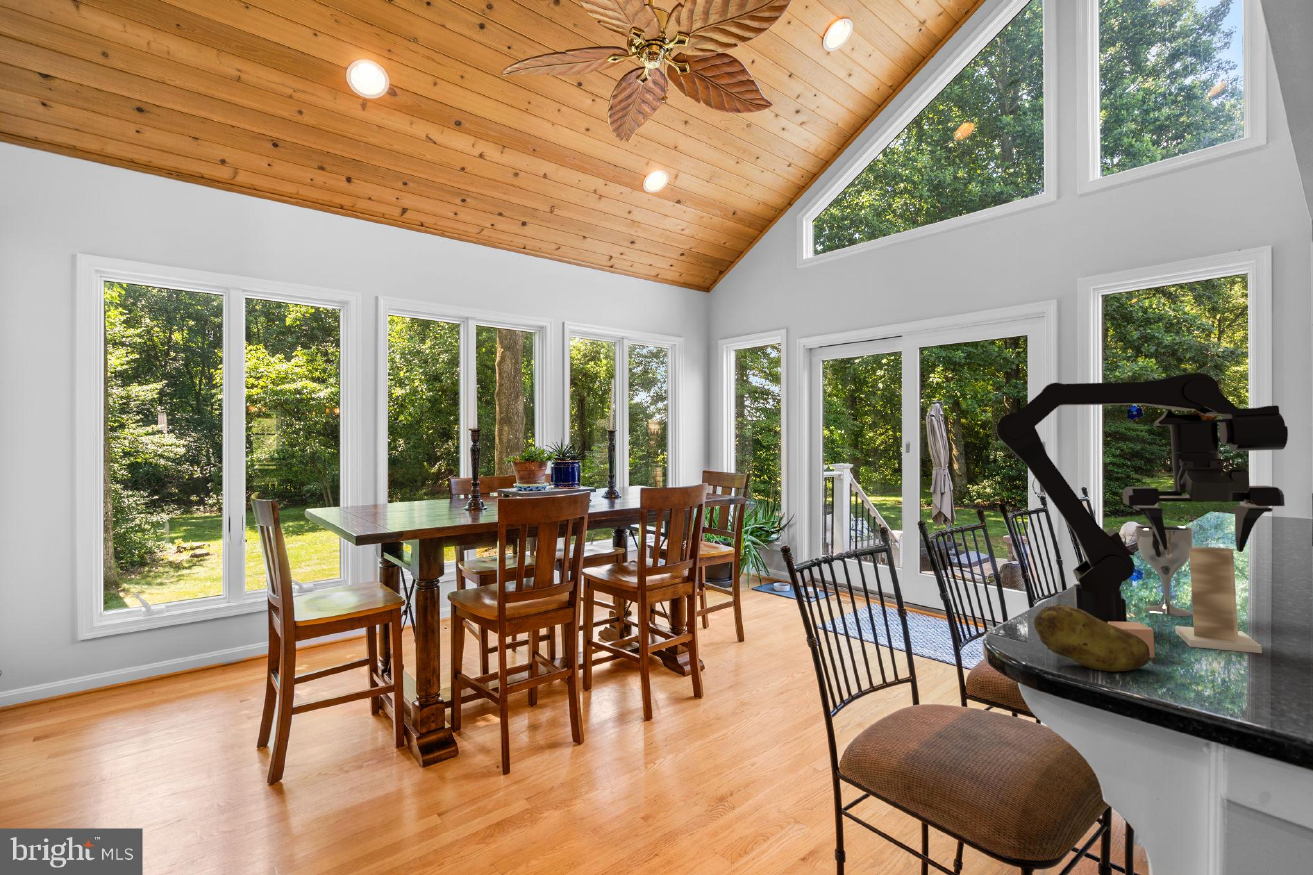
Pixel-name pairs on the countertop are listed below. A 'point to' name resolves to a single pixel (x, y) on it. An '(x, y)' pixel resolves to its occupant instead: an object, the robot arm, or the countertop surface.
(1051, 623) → the potato
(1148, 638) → the terracotta cube
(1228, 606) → the beech block
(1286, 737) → the countertop surface
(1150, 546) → the wine glass
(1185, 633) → the stone tile
